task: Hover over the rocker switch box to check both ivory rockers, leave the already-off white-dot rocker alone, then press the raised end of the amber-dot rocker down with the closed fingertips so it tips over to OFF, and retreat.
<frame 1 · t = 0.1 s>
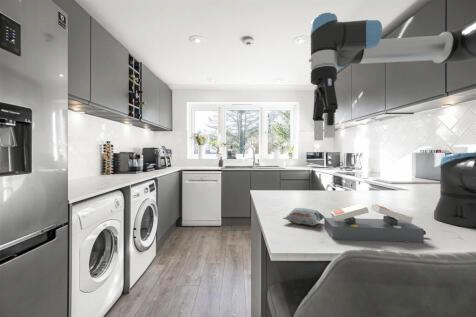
hand: (323, 139, 72), 28 cm above the table, fingers open, 13 cm apart
rocker amber: (348, 211, 68), point 7 cm above the table, hinge at 17.0°
rocker switch box: (369, 235, 68), on the table
rocker white: (391, 212, 67), point 7 cm above the table, hinge at -17.0°
packaged food: (303, 224, 79), on the table
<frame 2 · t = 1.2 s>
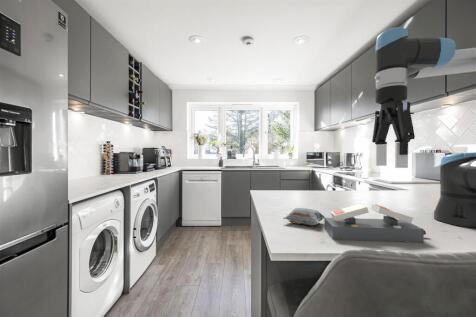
hand: (390, 166, 67), 20 cm above the table, fingers open, 10 cm apart
nothing on the table moved.
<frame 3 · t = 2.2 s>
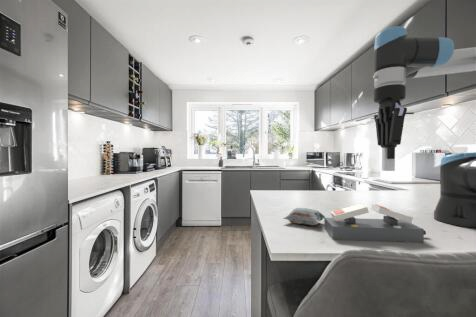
hand: (388, 170, 67), 19 cm above the table, fingers closed
nothing on the table moved.
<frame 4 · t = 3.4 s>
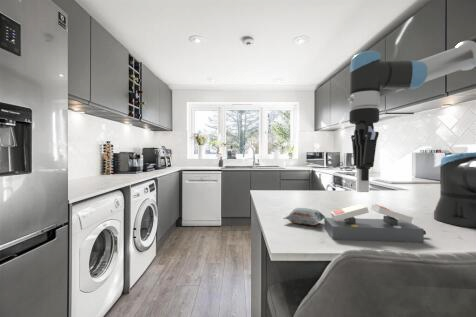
hand: (362, 191, 68), 12 cm above the table, fingers closed
nothing on the table moved.
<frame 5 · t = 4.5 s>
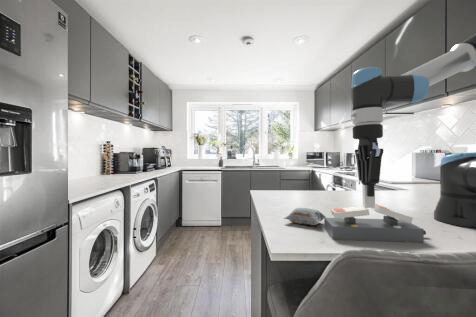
hand: (368, 207, 67), 8 cm above the table, fingers closed
rocker amber: (349, 211, 68), point 7 cm above the table, hinge at 7.4°, touching gripper
rocker white: (391, 212, 67), point 7 cm above the table, hinge at -17.5°
everything else where it was.
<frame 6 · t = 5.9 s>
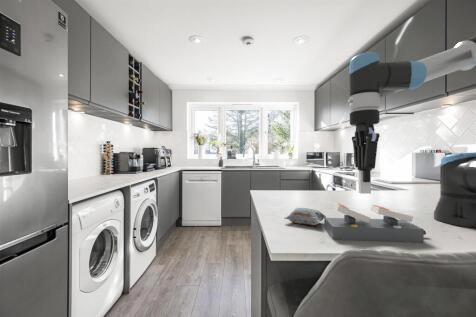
hand: (364, 193, 68), 12 cm above the table, fingers closed
rocker amber: (350, 212, 68), point 7 cm above the table, hinge at -21.0°
rocker white: (391, 212, 67), point 7 cm above the table, hinge at -13.6°
everything else where it was.
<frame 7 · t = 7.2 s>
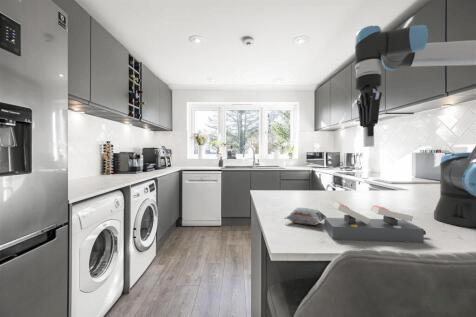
hand: (368, 146, 79), 26 cm above the table, fingers closed
rocker amber: (351, 212, 68), point 6 cm above the table, hinge at -25.7°
rocker white: (391, 212, 67), point 7 cm above the table, hinge at -11.9°
everything else where it was.
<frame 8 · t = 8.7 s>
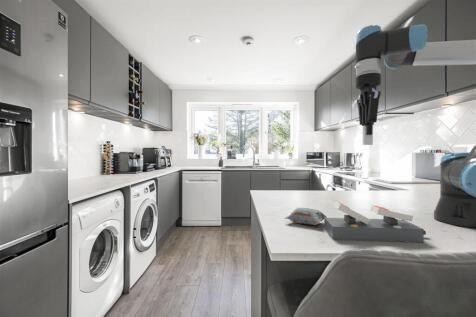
hand: (367, 144, 80), 26 cm above the table, fingers closed
rocker amber: (351, 212, 68), point 6 cm above the table, hinge at -27.1°
rocker white: (391, 212, 67), point 7 cm above the table, hinge at -11.4°
everything else where it was.
at the end: rocker amber at -27° (first picture: +17°); rocker white at -11° (first picture: -17°) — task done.
